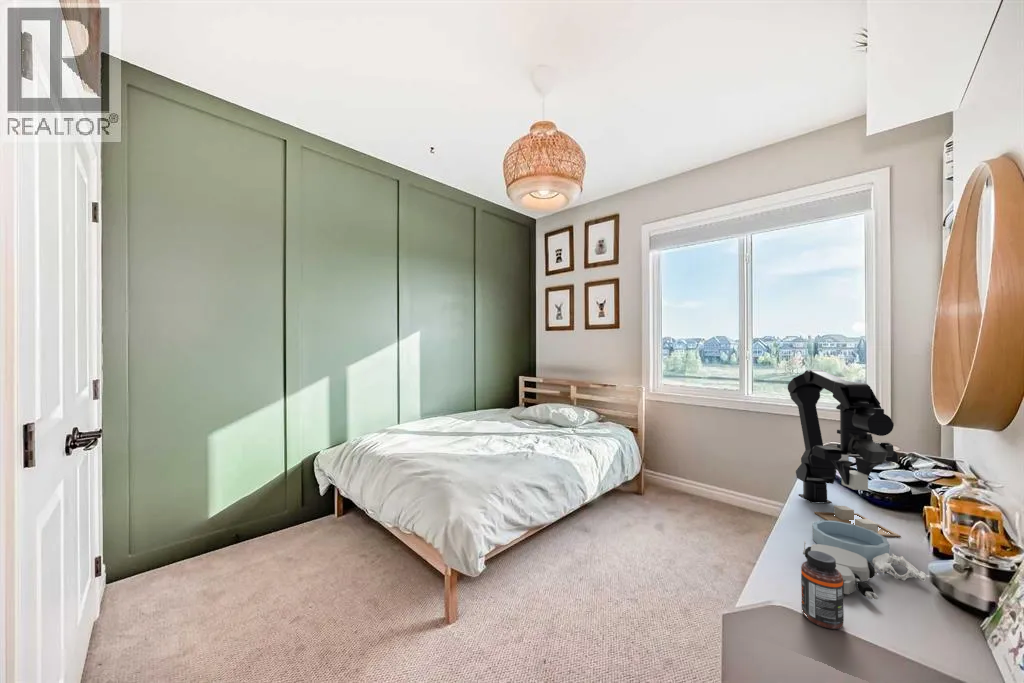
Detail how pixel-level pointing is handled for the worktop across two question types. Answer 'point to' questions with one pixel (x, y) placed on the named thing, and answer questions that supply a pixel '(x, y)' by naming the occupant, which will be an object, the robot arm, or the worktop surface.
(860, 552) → the bowl
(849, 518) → the tan cube
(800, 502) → the worktop surface
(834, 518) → the tray
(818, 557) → the supplement bottle
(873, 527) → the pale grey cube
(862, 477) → the beige cube
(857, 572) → the robot toy
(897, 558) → the white animal skull
